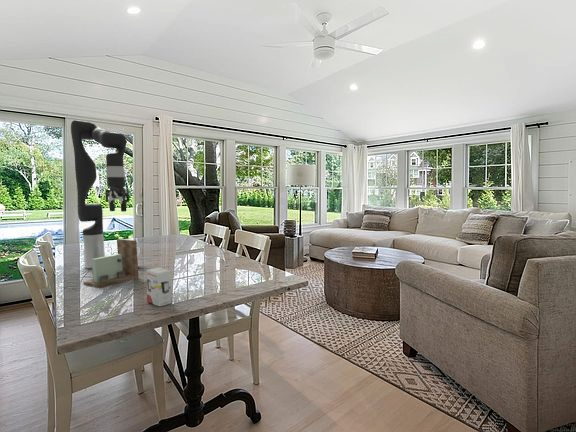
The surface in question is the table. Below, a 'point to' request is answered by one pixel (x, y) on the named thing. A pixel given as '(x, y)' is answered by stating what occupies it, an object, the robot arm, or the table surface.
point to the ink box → (159, 286)
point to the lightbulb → (138, 251)
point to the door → (106, 267)
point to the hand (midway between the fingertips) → (118, 211)
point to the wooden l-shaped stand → (128, 265)
